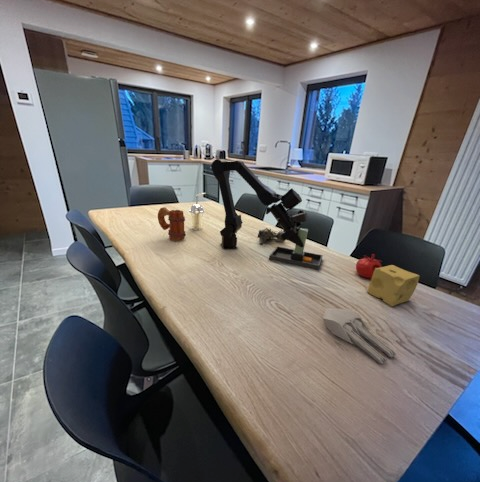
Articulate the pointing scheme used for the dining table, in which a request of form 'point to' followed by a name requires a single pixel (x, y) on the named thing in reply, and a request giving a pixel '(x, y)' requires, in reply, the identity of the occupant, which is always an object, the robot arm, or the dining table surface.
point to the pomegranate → (367, 266)
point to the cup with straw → (196, 214)
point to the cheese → (393, 284)
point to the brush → (298, 250)
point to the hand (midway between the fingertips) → (303, 245)
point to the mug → (172, 223)
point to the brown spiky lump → (268, 235)
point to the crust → (307, 259)
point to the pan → (285, 257)
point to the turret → (355, 331)
